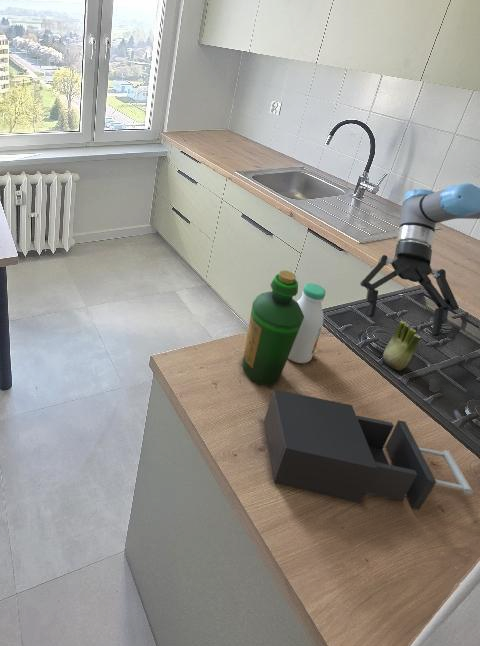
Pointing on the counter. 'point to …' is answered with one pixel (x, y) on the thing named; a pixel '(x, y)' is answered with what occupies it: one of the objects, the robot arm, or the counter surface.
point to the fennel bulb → (401, 347)
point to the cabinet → (318, 446)
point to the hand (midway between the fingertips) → (402, 325)
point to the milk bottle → (308, 323)
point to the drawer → (404, 464)
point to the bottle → (272, 330)
